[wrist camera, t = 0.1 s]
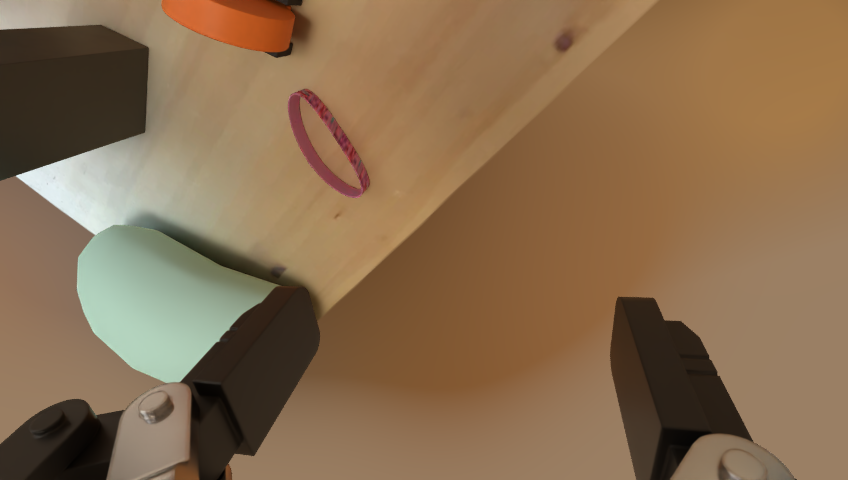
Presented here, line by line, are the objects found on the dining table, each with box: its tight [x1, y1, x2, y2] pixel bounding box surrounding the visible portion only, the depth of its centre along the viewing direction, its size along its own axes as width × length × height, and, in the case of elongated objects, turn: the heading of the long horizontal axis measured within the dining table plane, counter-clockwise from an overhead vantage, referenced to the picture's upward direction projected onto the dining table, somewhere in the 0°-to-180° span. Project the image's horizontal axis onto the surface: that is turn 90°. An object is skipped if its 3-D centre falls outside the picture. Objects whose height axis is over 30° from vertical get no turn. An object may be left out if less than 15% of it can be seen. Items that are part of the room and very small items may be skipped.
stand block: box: [0, 25, 148, 181], centre depth 35 cm, size 5×9×18 cm, turn 157°
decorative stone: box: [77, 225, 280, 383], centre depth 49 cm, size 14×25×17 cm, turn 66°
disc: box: [162, 0, 295, 52], centre depth 33 cm, size 9×2×9 cm, turn 67°
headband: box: [288, 89, 369, 198], centre depth 41 cm, size 11×4×2 cm, turn 32°
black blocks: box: [265, 0, 302, 58], centre depth 36 cm, size 6×5×2 cm
